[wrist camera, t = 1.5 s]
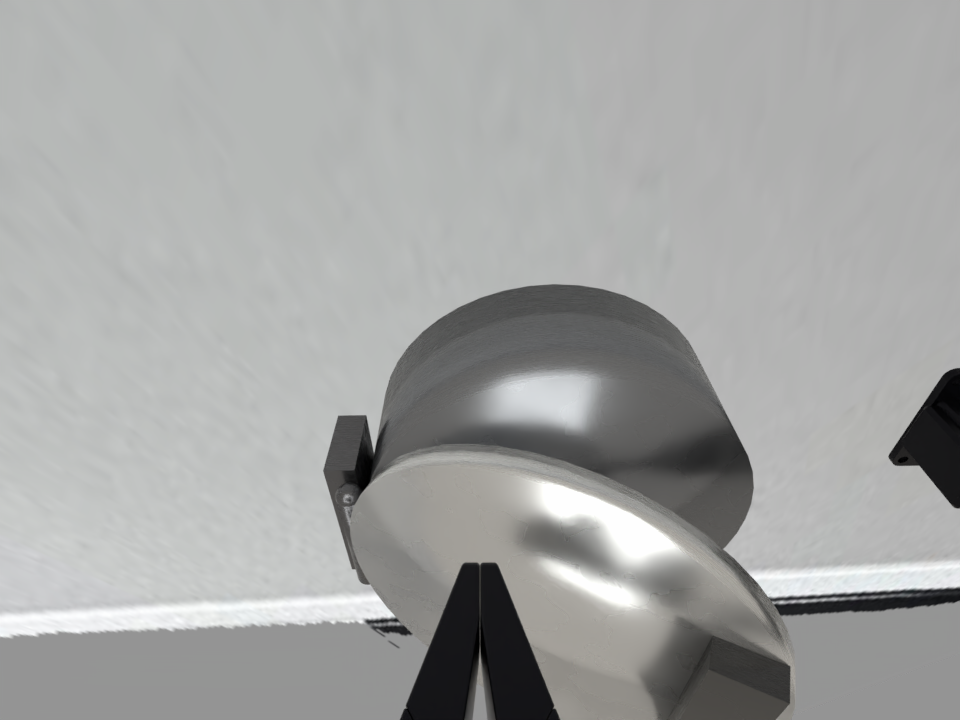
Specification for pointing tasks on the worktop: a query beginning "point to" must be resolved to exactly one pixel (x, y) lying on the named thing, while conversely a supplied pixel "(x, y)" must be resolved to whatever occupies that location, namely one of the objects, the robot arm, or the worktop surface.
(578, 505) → the lid
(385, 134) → the worktop surface
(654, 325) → the pot
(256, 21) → the worktop surface
